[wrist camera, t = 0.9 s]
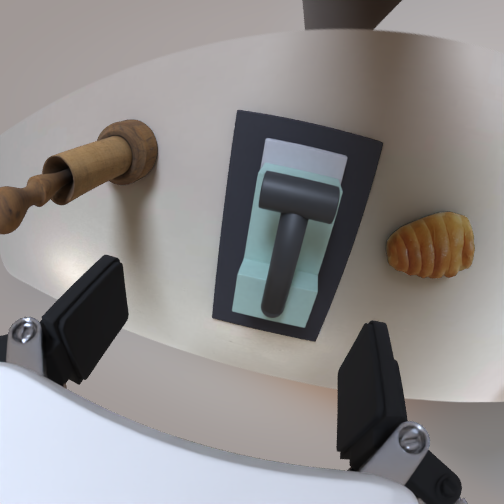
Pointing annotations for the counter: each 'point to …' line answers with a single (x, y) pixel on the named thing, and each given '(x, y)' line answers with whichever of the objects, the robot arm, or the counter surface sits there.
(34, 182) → the mortar and pestle
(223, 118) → the counter surface
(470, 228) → the pastry
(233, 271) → the iron mat
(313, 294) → the iron
